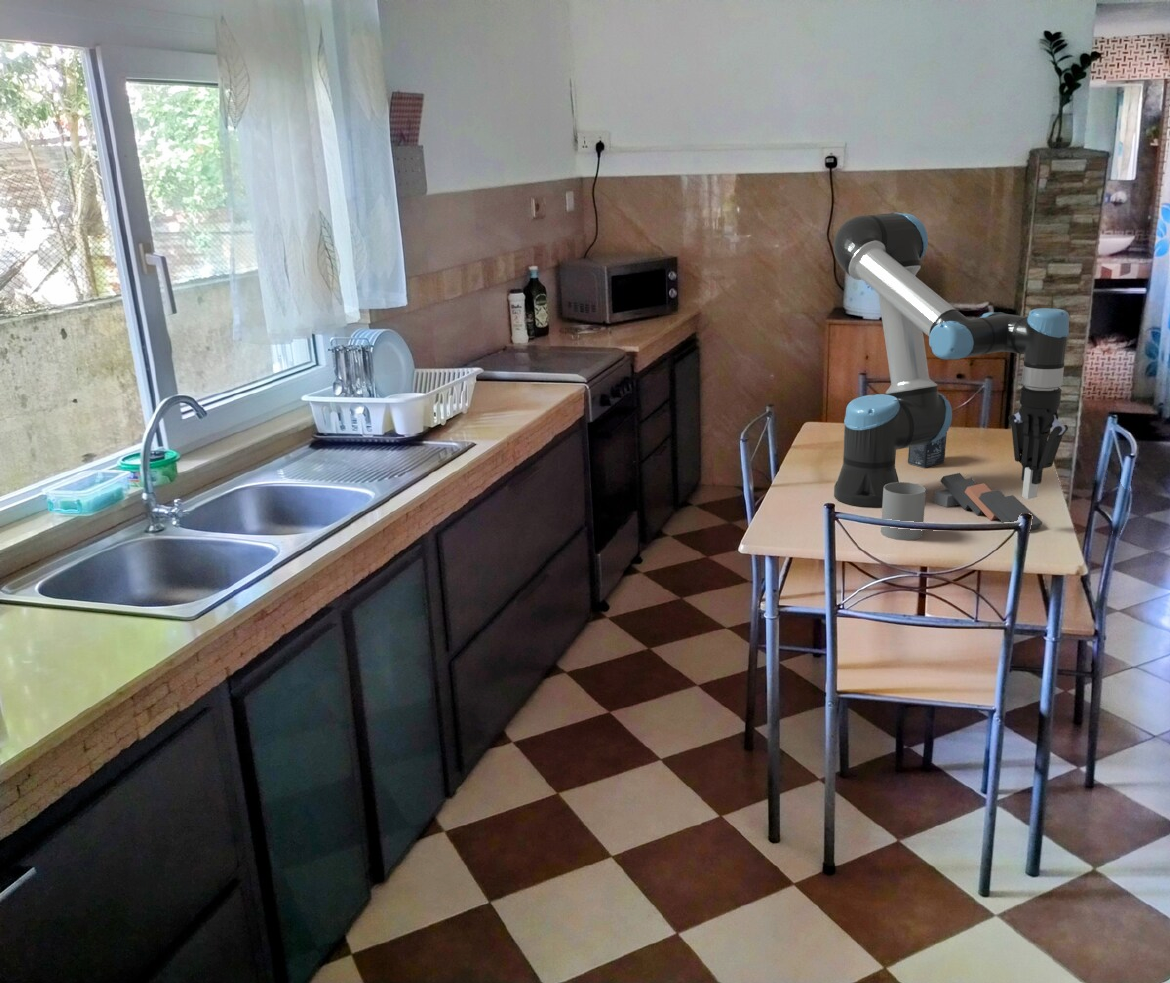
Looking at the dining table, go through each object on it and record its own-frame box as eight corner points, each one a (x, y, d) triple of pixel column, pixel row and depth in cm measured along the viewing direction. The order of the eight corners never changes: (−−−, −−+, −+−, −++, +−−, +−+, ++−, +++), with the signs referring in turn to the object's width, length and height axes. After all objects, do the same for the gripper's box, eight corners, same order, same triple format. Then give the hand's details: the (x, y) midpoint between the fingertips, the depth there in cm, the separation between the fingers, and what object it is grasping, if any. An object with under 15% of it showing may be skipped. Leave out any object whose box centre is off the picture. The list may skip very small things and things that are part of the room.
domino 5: (1025, 526, 210) (996, 498, 216) (1022, 532, 211) (993, 504, 217) (1042, 522, 212) (1012, 494, 218) (1039, 527, 213) (1009, 500, 219)
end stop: (946, 507, 227) (947, 496, 226) (933, 502, 230) (934, 492, 230) (972, 501, 230) (973, 490, 230) (959, 496, 234) (960, 486, 233)
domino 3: (994, 515, 217) (967, 486, 222) (990, 520, 218) (964, 491, 224) (1010, 511, 219) (984, 483, 224) (1007, 516, 220) (980, 488, 226)
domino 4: (1009, 520, 213) (981, 493, 219) (1006, 526, 214) (978, 498, 220) (1026, 516, 215) (998, 489, 221) (1023, 522, 216) (995, 494, 222)
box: (925, 468, 255) (928, 428, 252) (907, 463, 260) (909, 424, 257) (945, 463, 259) (948, 423, 256) (927, 458, 264) (930, 419, 261)
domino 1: (967, 504, 223) (943, 476, 228) (964, 509, 224) (940, 481, 230) (984, 500, 225) (959, 472, 231) (980, 505, 226) (956, 477, 232)
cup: (904, 543, 207) (908, 497, 204) (872, 532, 214) (875, 487, 210) (930, 533, 212) (934, 488, 209) (898, 523, 218) (901, 479, 215)
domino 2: (980, 510, 220) (955, 481, 225) (977, 515, 221) (951, 486, 226) (996, 506, 222) (971, 478, 227) (993, 511, 223) (968, 482, 229)
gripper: (1082, 390, 200) (1068, 502, 207) (1028, 378, 211) (1016, 486, 218) (1055, 394, 196) (1042, 509, 204) (1002, 383, 208) (991, 492, 215)
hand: (1029, 497), depth 211 cm, fingers closed
